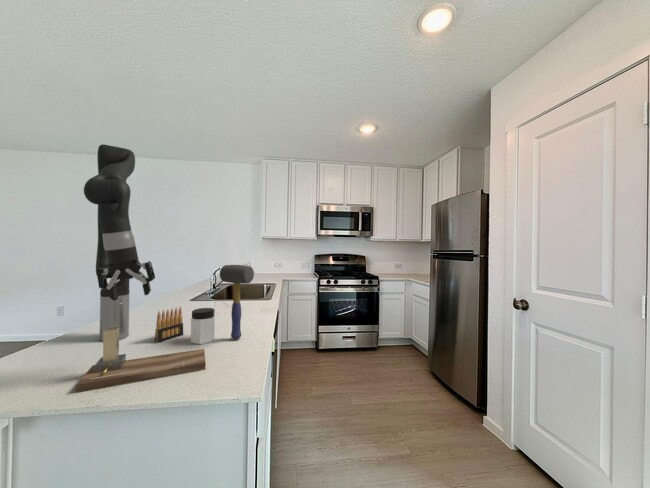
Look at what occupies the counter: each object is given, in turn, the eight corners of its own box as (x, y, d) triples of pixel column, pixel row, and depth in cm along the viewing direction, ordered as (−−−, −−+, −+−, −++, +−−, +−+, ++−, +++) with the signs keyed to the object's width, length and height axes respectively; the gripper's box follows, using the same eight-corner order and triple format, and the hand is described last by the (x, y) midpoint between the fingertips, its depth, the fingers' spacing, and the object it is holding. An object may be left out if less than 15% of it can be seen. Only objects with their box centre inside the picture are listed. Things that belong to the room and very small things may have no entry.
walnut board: (92, 372, 78) (92, 365, 78) (204, 354, 91) (204, 348, 91) (76, 392, 67) (76, 384, 67) (205, 369, 80) (205, 362, 80)
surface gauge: (101, 364, 79) (101, 327, 79) (125, 360, 81) (126, 324, 82) (89, 378, 70) (90, 337, 70) (117, 374, 73) (118, 334, 73)
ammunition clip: (157, 343, 101) (158, 311, 101) (154, 342, 102) (155, 311, 102) (183, 334, 111) (183, 306, 111) (180, 334, 112) (181, 305, 112)
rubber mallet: (254, 338, 108) (255, 264, 108) (243, 344, 101) (244, 265, 101) (229, 334, 112) (230, 263, 112) (216, 340, 105) (218, 264, 105)
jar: (185, 342, 102) (186, 311, 102) (201, 335, 110) (201, 307, 110) (204, 345, 99) (205, 313, 99) (219, 338, 107) (219, 308, 107)
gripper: (151, 242, 86) (160, 289, 89) (98, 248, 82) (110, 297, 85) (143, 245, 79) (153, 296, 82) (85, 252, 75) (98, 305, 78)
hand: (131, 297), depth 83 cm, fingers open, 8 cm apart
